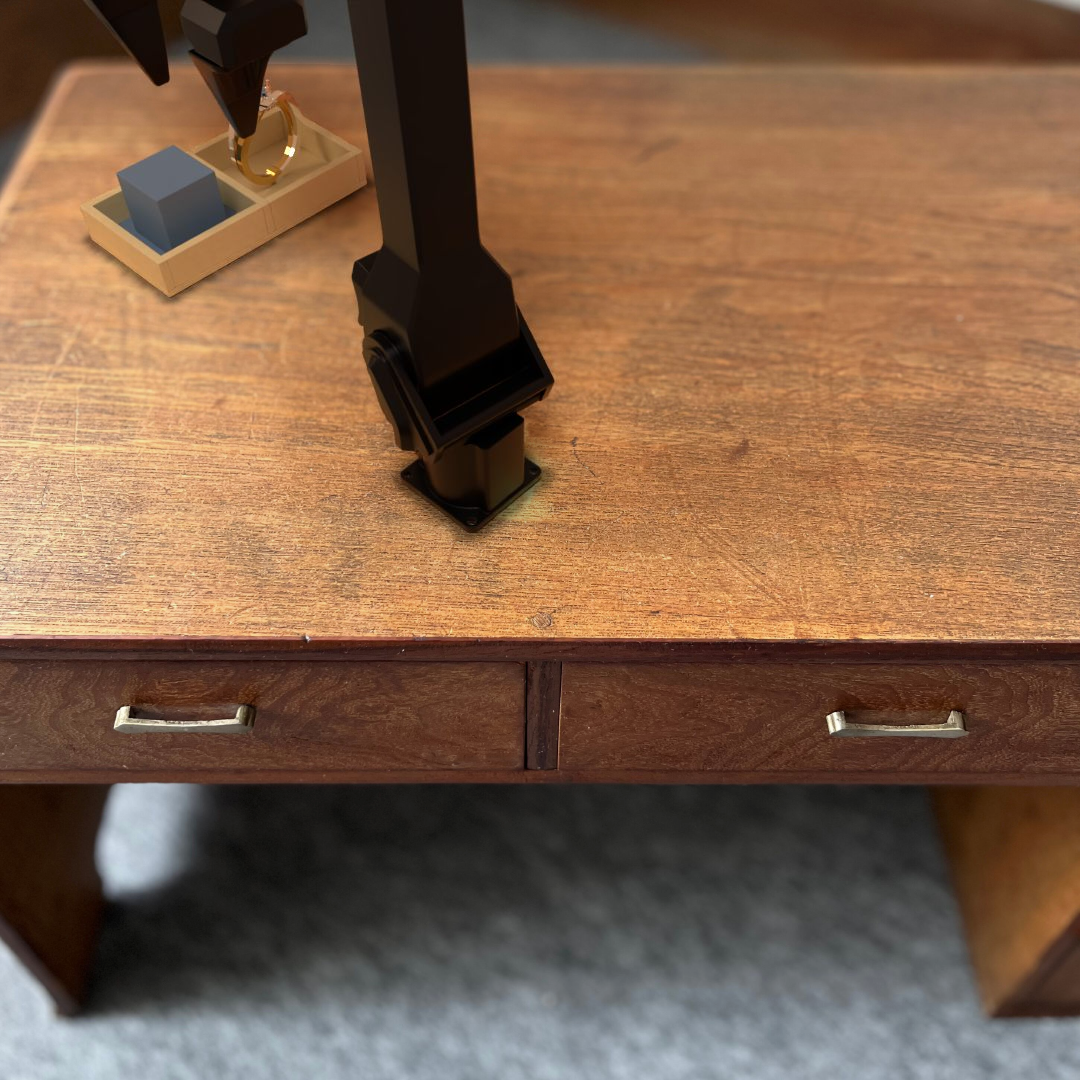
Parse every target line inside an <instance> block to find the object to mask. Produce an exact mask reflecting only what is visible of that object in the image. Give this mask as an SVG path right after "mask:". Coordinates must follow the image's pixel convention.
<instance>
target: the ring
mask: <svg viewBox="0 0 1080 1080" xmlns="http://www.w3.org/2000/svg"><path fill="white" fill-rule="evenodd" d="M264 80H265V85H263V87H262V94H261V100H260V107H259V113H258V120H257V125H258V123H259V121H260V120H261V118H262V116H263V114H264V112H266V111H268V110H270V109H271V107H272V108H273V106H275V105H276V106H279V107H280V109H281V110H282V112H283V113H284V115H285V118H286V120H287V124H288V144H287V148H286V151H285V153H284V155H283V157H282V159H281V160H280V162H279V163H278V164H277V165H276V166H275V167H274V166H270V167H269V168H268V169H267V172H266V173H264V174H254V173H253V172H252V171H251V169H250V167H249V164H248V148H249V144H250V141H251V138H252V136H253V135H251V136H249V137H247V138H245V139H242V138H240V137H239V136H238V135H237V133H236V132H235V130H234V129H233V127H232V126H231V124H230V123H229V122H228V123H229V124H228V131H229V150H230V156H231V159H232V162H233V164H234V166H235V168H236V170H237V171H238V172H239V173H240V174H241V175H242V176H243V177H244V178H246V179H247V180H249V181H250V182H252V183H254V184H257V185H269V184H272V183H274V182H275V183H280V182H281V181H282V180H283V176H285V175H286V174H287V172H288V171H289V170H290V169H291V167H292V166H293V164H294V162H295V161H296V158H297V156H298V154H299V151H300V147H301V143H302V136H303V122H302V116H303V115H302V113H301V109H300V108H299V105H298V103H297V101H296V100H295V98H294V96H293V95H292V94H291V93H289V92H286V91H284V90H280V89H279V90H274V89H273V90H272V87H271V86H272V85H271V80H270V79H264ZM301 115H302V116H301ZM256 127H257V126H256Z"/></svg>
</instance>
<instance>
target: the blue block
mask: <svg viewBox="0 0 1080 1080" xmlns="http://www.w3.org/2000/svg"><path fill="white" fill-rule="evenodd" d="M186 152H187V151H184V150H183V149H181V148H179V147H178V146H177V145H175V144H170V145H169V146H168V147H165V148H163V149H161V150H159V151H157V152H155V153H153V154H151V155H149V156H147V157H145V158H143V159H140V160H139V161H137V162H134V163H133V164H131V165H129V166H127V167H125V168H123V169H121V170H119V171H117V172H115V174H116V175H115V176H116V177H117V181H118V183H119V186H120V187H121V189H122V192H123V195H124V198H125V201H126V204H127V207H128V210H129V213H130V216H131V218H132V221H133V224H134V227H135V230H136V231H137V232H138V233H139V234H141V235H142V236H144V237H145V238H146V239H148V240H149V241H150V242H152V243H153V244H155V245H156V246H157V247H159V248H160V249H162V250H163V251H164V252H166V253H167V252H169V251H170V250H172V249H174V248H176V247H178V246H179V245H181V244H183V243H185V242H187V241H189V240H190V239H192V238H194V237H196V236H198V235H199V234H201V233H203V232H205V231H207V230H209V229H210V228H212V227H214V226H216V225H218V224H219V223H221V222H223V221H225V220H227V217H226V213H225V209H224V206H223V202H222V198H221V194H220V190H219V187H218V183H217V179H216V175H215V172H214V171H213V170H212V169H210V168H209V167H207V166H206V165H204V164H202V163H201V162H199V161H198V160H196V159H195V158H193V157H192V156H190V155H189V154H187V153H186Z"/></svg>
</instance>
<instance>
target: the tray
mask: <svg viewBox="0 0 1080 1080" xmlns="http://www.w3.org/2000/svg"><path fill="white" fill-rule="evenodd" d="M301 116H302V122H303V136H302V143H301V147H300V151H299V154H298V156H297V158H296V161H295V162H294V164H293V166H292V167H291V169H290V170H289V171H288V172H287V174H286V175H285V176H283V180H282V181H281V182H280V183H275V182H274V183H272V184H269V185H257V184H254V183H252V182H250V181H249V180H247V179H246V178H244V177H243V176H242V175H241V174H240V173H239V172H238V171H237V170H236V168H235V166H234V164H233V162H232V159H231V156H230V150H229V130H227V131H225V132H222V133H221V134H219V135H217V136H215V137H213V138H211V139H209V140H207V141H205V142H203V143H201V144H199V145H197V146H195V147H193V148H191V149H189V150H188V151H185V152H186V153H187V154H189V155H190V156H192V157H193V158H195V159H196V160H198V161H199V162H201V163H202V164H204V165H206V166H207V167H209V168H210V169H212V170H213V171H214V172H215V175H216V179H217V183H218V187H219V190H220V194H221V198H222V202H223V206H224V209H225V213H226V217H227V220H225V221H223V222H221V223H219V224H218V225H216V226H214V227H212V228H210V229H209V230H207V231H205V232H203V233H201V234H199V235H198V236H196V237H194V238H192V239H190V240H189V241H187V242H185V243H183V244H181V245H179V246H178V247H176V248H174V249H172V250H170V251H169V252H167V253H166V252H164V251H163V250H162V249H160V248H159V247H157V246H156V245H155V244H153V243H152V242H150V241H149V240H148V239H146V238H145V237H144V236H142V235H141V234H139V233H138V232H137V231H136V230H135V227H134V224H133V221H132V218H131V216H130V213H129V210H128V207H127V204H126V201H125V198H124V195H123V192H122V189H121V187H120V185H118V186H115V187H114V188H112V189H110V190H108V191H106V192H104V193H102V194H100V195H97V196H95V197H94V198H92V199H90V200H88V201H86V202H84V203H82V204H80V205H79V206H78V207H79V210H80V213H81V216H82V219H83V220H84V223H85V225H86V229H87V231H88V233H89V236H90V239H91V240H92V241H93V242H95V243H96V244H97V245H99V246H100V247H101V248H102V249H104V250H105V251H106V252H108V253H109V254H111V255H112V256H113V257H115V258H116V259H117V260H119V261H120V262H121V263H122V264H123V265H125V266H127V267H128V268H130V270H132V271H133V272H135V273H136V274H137V275H138V276H140V277H142V278H143V279H144V280H145V281H146V282H148V283H149V284H150V285H152V286H153V287H154V288H156V289H158V290H159V291H160V292H161V293H162V294H164V295H165V296H166V297H168V298H172V297H173V296H175V295H177V294H178V293H180V292H182V291H185V290H186V289H187V288H190V286H193V285H195V284H196V283H198V282H199V281H201V280H203V279H205V278H206V277H208V276H210V275H212V274H214V273H216V272H218V271H219V270H220V269H222V268H224V267H225V266H227V265H230V264H231V263H232V262H234V261H236V260H237V259H239V258H241V257H243V256H245V255H247V254H248V253H250V252H252V251H253V250H256V249H257V248H259V247H261V246H262V245H264V244H266V243H267V242H269V241H271V240H272V239H274V238H276V237H277V236H279V235H282V234H283V233H285V232H286V231H289V230H290V229H291V228H294V227H296V226H297V225H299V224H301V223H302V222H305V220H308V219H309V218H311V217H312V216H314V215H316V214H318V213H320V212H321V211H323V210H325V209H326V208H329V207H330V206H332V205H334V204H335V203H336V202H338V201H340V200H342V199H344V198H346V197H347V196H350V195H351V194H352V193H354V192H356V191H358V190H359V189H362V188H363V187H365V186H366V185H368V181H367V180H368V179H367V172H366V166H365V159H364V158H365V157H364V151H363V150H361V148H358V147H357V146H355V145H353V144H351V143H350V142H348V141H346V140H345V139H343V138H341V137H339V136H338V135H336V134H334V133H332V132H331V131H329V130H328V129H326V128H325V127H322V126H320V125H319V124H317V123H315V122H314V121H312V120H310V119H309V118H307V117H305V116H303V115H302V114H301ZM287 144H288V124H287V120H286V118H285V115H284V113H283V112H282V110H281V109H280V107H279V106H278V105H276V106H274V107H272V108H269V109H267V110H266V111H265V112H264V114H263V116H262V118H261V120H260V121H259V123H258V125H257V127H256V132H255V133H254V134H253V136H252V138H251V141H250V144H249V148H248V164H249V167H250V169H251V171H252V172H253V173H254V174H264V173H266V172H267V169H268V168H269V167H270V166H274V167H275V166H276V165H277V164H278V163H279V162H280V160H281V159H282V157H283V155H284V153H285V151H286V148H287Z"/></svg>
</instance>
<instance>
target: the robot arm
mask: <svg viewBox="0 0 1080 1080" xmlns="http://www.w3.org/2000/svg"><path fill="white" fill-rule="evenodd" d="M82 1H83V2H84V3H85V5H86V6H87V7H88V8H89V9H90V10H91V11H92V13H93V14H94V15H95V17H97V18H98V20H99V21H100V23H102V25H104V26H105V28H106V29H107V30H108V31H109V32H110V34H111V35H112V36H113V38H115V40H117V42H118V43H119V44H120V45H121V47H122V48H123V50H125V51H126V53H127V54H128V55H129V56H130V58H131V59H132V60H133V62H135V64H136V65H137V66H138V67H139V69H140V70H141V71H142V72H143V73H144V75H145V76H146V77H147V78H148V79H149V81H150V82H151V83H152V84H153V85H154V86H156V87H161V86H163V85H165V84H167V83H169V82H170V80H171V78H170V76H171V75H170V66H169V57H168V52H167V47H166V41H165V34H164V29H163V24H162V19H161V13H160V8H159V2H158V0H82ZM182 1H183V2H184V3H183V5H182V7H181V10H180V13H179V19H180V22H181V23H180V24H181V27H182V30H183V34H184V36H185V37H186V39H187V40H188V42H189V44H190V45H191V46H192V48H191V49H188V50H187V54H188V56H189V58H190V59H191V62H192V63H193V64H194V66H195V68H196V69H197V72H198V73H199V75H200V77H201V78H202V79H203V81H204V82H205V84H206V86H207V87H208V90H210V93H211V95H212V96H213V98H214V100H215V101H216V103H217V104H218V106H219V108H220V109H221V112H222V113H223V115H224V116H225V118H226V120H227V121H228V123H230V124H231V126H232V127H233V129H234V130H235V132H236V133H237V135H238V136H239V137H240V138H242V139H245V138H247V137H249V136H251V135H253V134H254V133H255V132H256V126H257V120H258V113H259V107H260V100H261V94H262V87H263V86H264V80H265V76H266V72H267V67H268V64H269V61H270V58H271V57H272V55H273V54H274V52H276V51H278V50H280V49H282V48H284V47H286V46H288V45H290V44H292V43H293V42H294V41H296V40H299V39H301V38H303V37H306V36H307V35H308V32H309V23H308V17H307V11H306V5H305V0H182ZM346 4H347V12H348V17H349V24H350V30H351V37H352V43H353V44H352V45H353V51H354V57H355V58H354V59H355V64H356V70H357V77H358V84H359V91H360V96H361V97H360V98H361V102H362V109H363V110H362V111H363V115H364V123H365V129H366V136H367V144H368V149H369V155H370V163H371V169H372V175H373V176H372V177H373V182H374V188H375V189H374V190H375V194H376V201H377V208H378V215H379V221H380V228H381V234H382V244H381V247H380V248H379V249H377V250H375V251H373V252H371V253H369V254H367V255H364V256H362V257H361V258H358V259H357V260H354V261H353V265H352V271H351V276H350V277H351V282H352V286H353V289H354V293H355V298H356V302H357V309H358V316H357V323H358V325H359V326H360V327H363V328H362V329H363V336H364V337H363V339H362V342H361V346H362V351H361V355H362V358H363V360H364V363H365V366H366V371H367V374H368V376H369V379H370V380H371V384H372V387H373V389H374V392H375V395H376V398H377V401H378V404H379V407H380V410H381V412H382V414H383V415H384V417H385V419H386V420H387V422H388V423H389V424H390V425H391V426H392V430H393V435H394V442H395V445H396V446H397V447H398V449H400V451H402V452H414V453H415V455H416V456H417V459H416V460H414V461H413V462H412V463H411V464H409V465H408V466H406V467H405V468H404V469H402V470H401V471H400V480H401V483H403V484H404V485H405V486H407V488H409V489H410V490H412V491H413V492H414V493H416V495H418V496H419V497H421V498H422V499H424V500H425V501H426V502H428V503H429V504H430V505H431V506H433V507H434V508H435V509H436V510H438V511H440V512H441V513H442V514H444V515H445V516H446V517H448V518H449V519H450V520H451V521H453V522H454V523H455V524H457V525H458V526H460V527H461V528H462V529H464V530H465V531H466V532H469V533H474V532H475V533H476V532H477V531H479V529H481V528H482V527H483V526H484V525H486V524H487V523H488V522H490V521H491V520H492V519H493V518H494V517H496V516H497V515H498V514H500V512H502V511H503V510H504V509H505V508H507V507H508V506H509V505H510V504H511V503H512V502H514V501H515V500H516V499H518V498H519V497H520V496H521V495H522V494H523V493H525V492H526V491H527V490H528V489H529V488H530V487H532V486H533V485H534V484H536V483H537V482H538V481H539V480H540V479H541V478H542V475H543V474H542V471H543V470H542V468H541V467H540V466H539V465H537V464H536V463H535V462H533V461H532V460H530V459H529V458H528V457H526V456H525V418H524V417H523V416H522V415H520V414H519V413H520V412H521V411H523V410H525V409H526V408H529V407H530V406H532V405H534V404H536V403H537V402H542V401H544V400H545V399H547V398H548V397H549V395H550V393H551V391H552V389H553V387H554V384H555V378H554V375H553V374H552V371H551V370H550V367H549V365H548V363H547V361H546V360H545V357H544V355H543V353H542V351H541V350H540V347H539V345H538V343H537V341H536V339H535V337H534V335H533V333H532V332H531V331H532V330H531V329H530V327H529V325H528V322H527V321H526V319H525V317H524V314H523V313H522V311H521V309H520V307H519V305H518V303H517V301H516V296H515V290H514V284H513V278H512V276H511V274H509V273H508V271H507V270H506V269H505V268H504V267H503V266H502V265H501V263H500V262H498V260H497V259H496V258H495V257H494V255H493V254H491V252H490V251H489V250H488V249H487V248H486V247H485V246H484V245H483V243H482V240H481V239H482V238H481V233H480V232H481V231H480V220H479V219H480V218H479V206H478V205H479V204H478V192H477V175H476V165H475V164H476V163H475V150H474V149H475V147H474V135H473V118H472V106H471V91H470V90H471V89H470V77H469V76H470V75H469V64H468V50H467V49H468V48H467V33H466V22H465V21H466V19H465V9H464V8H465V4H464V0H346ZM470 523H473V524H470Z"/></svg>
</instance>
